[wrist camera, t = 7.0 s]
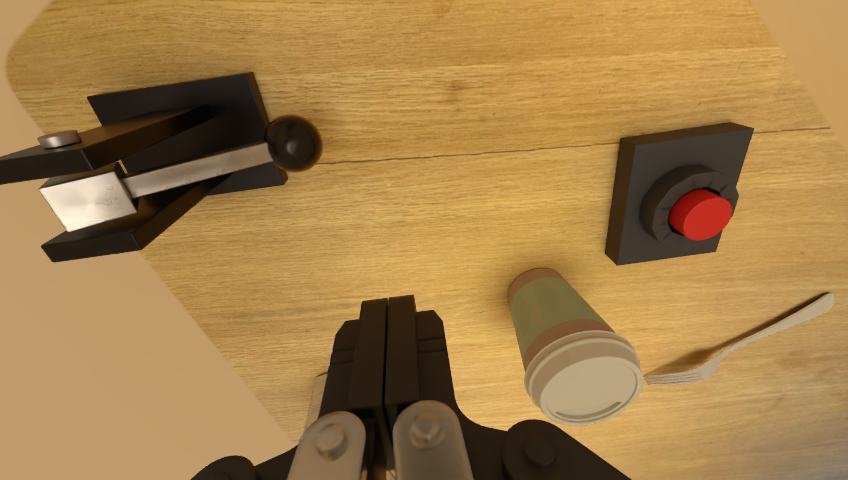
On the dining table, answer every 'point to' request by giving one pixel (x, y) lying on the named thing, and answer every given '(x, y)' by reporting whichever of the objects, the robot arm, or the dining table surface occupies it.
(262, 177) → the bracket
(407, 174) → the dining table surface
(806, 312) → the fork
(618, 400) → the coffee cup
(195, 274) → the dining table surface
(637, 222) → the button block
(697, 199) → the button
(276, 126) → the lever
